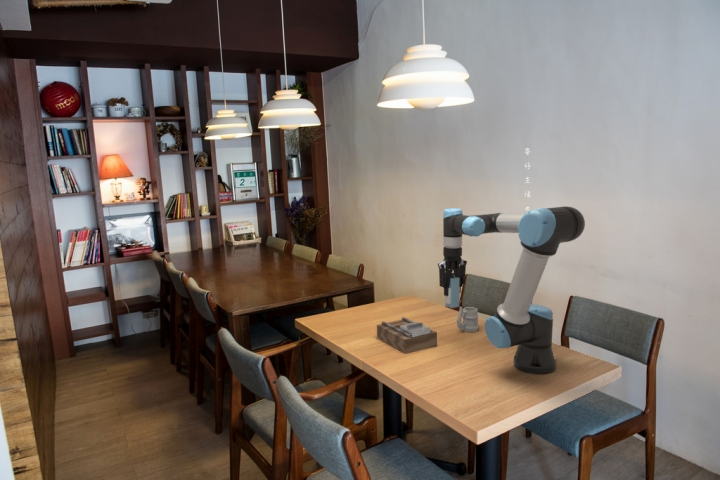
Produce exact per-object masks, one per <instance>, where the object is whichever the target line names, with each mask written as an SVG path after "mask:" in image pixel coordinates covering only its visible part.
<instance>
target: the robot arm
mask: <svg viewBox="0 0 720 480" xmlns="http://www.w3.org/2000/svg"><path fill="white" fill-rule="evenodd" d="M442 221H443V223H442V224H443V226H442V227H443V229H442V230H443V231H442V232H443V233H442V235H443V239H442V240H443V242H442V243H443V244H442V245H443V251H442V252H443V254H442V256H443V257H444V258H443V261H442V262H441V263H437V267H438V272H439V276H438V277H439V287H441V288H443V296H444V303H447V304H451V288H449V285H450V279H451V273H454V277H457V278H459V303H460V297H461V292H462V287H463V285H465V284H466V273H467V272H466V269H467V268H466V267H467V263H468V260H464V259H462V256H463V248H462V246H463V235H464V236H468V237H476V238H477V237H480V236H481V235H484V234H493V233H499V234H500V233H506V234H507V233H508V234H509V233H510V234H517V235H518V237H519V240H520V245H521V247H522V251H521V253H520V256H519V259H518V261H517V265H516V268H515V271H514V273H513V276H512V279H511V282H510V285H509V286H508V289H507V293H506V295H505V299H504V302H503V303H500V304H499V305H498V306H497V308H496V310H495V312H494V315H492V316H491V315H490V316H489V317H487V318H486V319H485V322H484V332H485V335H486V337H487V340H488V342H489V343H490V344H491V345H493V347H495V348H497V349H508V348H512V347H516V346H517V348H516V352H515V353H514V354H515V355H514V356H513V366H514V367H515V368H516V369H518V370H520V371H522V372H525V373H529V374H537V375H538V374H539V375H540V374H542V375H543V374H550V373H552V372H554V371H556V369H557V361H556V358H555V356H554V351H553V347H552V346H553V344H552V343H553V342H552V341H553V329H554V327H553V326H554V319H553V314H554V312H553V311H552V309H551V308H549V307H547V306H543V305H540V304H539V305H538V304H534V303H532V302H533V300H534V297H535V295H536V293H537V289H538V287H539V286H540V285H539V284H540V282H541V280H542V277H543V274H544V271H545V269H546V266H547V265H548V261H549V258H550V257H553V256H555V255H556V254H557V252H558V250H559V246H560V245H561V244H562V243H569V242H572V241H575V240H576V239H578V238H579V237H580V236H582V234H583V232H584V230H585V227H586V221H585V217H584V215H583V213H582V212H581V211H580V210H578V209H576V208H575V207H572V206H565V205H564V206H556V207H547V208H545V207H538V208H536V209H531V210H529V211H527V212H506V213H505V212H496V213H495V212H494V213H487V214H477V215H476V214H475V215H464V213H463V209H462V208H458V207H457V208H454V207H453V208H452V207H451V208H445V209H444V210H443V217H442Z"/></svg>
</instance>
